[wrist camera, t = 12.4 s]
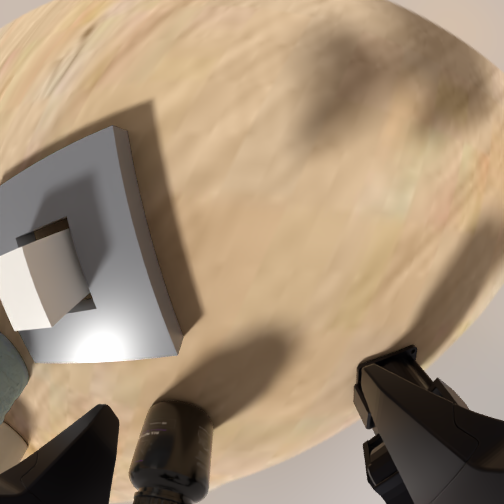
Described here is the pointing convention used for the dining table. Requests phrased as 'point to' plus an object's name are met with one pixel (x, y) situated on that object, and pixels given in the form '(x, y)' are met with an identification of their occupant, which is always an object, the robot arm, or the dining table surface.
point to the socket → (95, 252)
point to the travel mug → (10, 447)
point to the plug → (41, 281)
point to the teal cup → (10, 375)
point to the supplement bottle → (172, 455)
